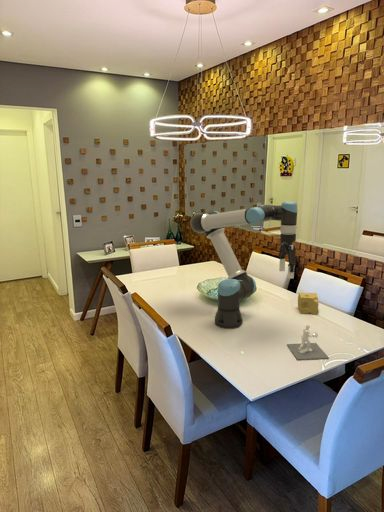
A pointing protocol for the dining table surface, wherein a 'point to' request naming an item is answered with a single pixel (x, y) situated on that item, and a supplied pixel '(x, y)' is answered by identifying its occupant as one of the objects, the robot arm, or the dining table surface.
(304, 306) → the cheese
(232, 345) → the dining table surface
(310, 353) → the mat
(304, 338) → the figurine
